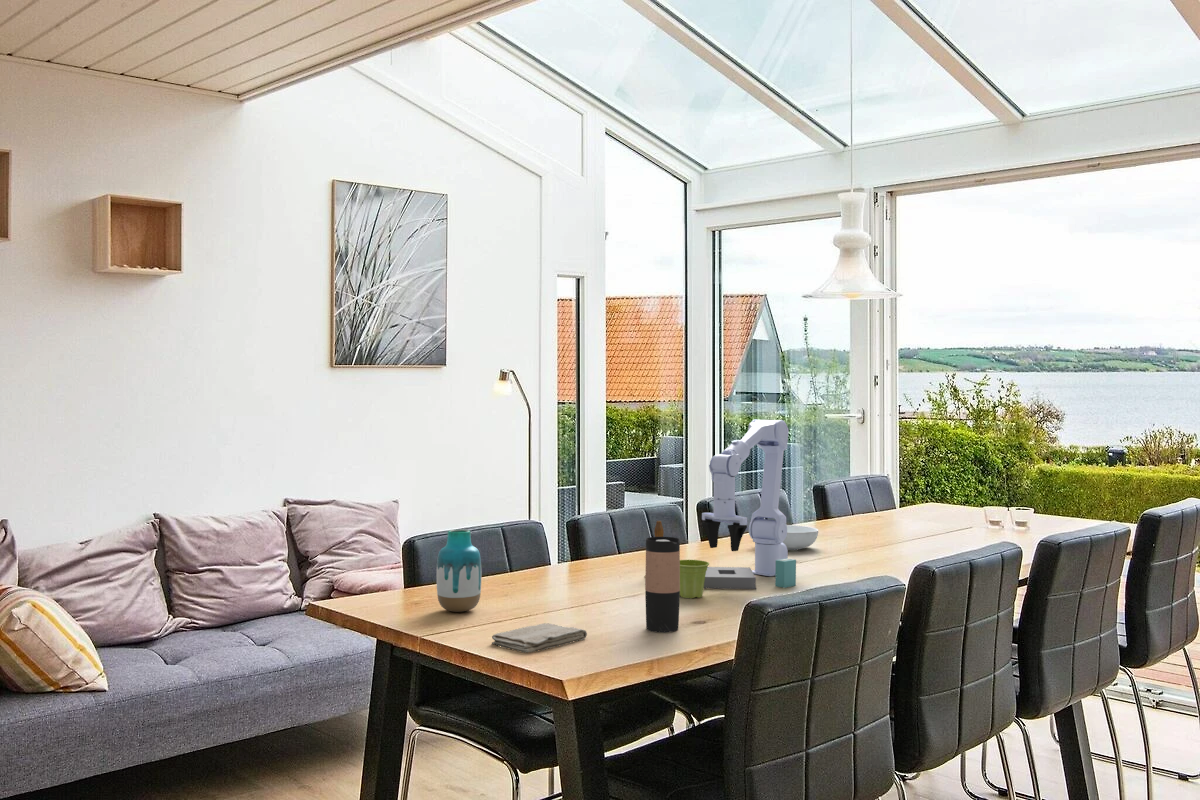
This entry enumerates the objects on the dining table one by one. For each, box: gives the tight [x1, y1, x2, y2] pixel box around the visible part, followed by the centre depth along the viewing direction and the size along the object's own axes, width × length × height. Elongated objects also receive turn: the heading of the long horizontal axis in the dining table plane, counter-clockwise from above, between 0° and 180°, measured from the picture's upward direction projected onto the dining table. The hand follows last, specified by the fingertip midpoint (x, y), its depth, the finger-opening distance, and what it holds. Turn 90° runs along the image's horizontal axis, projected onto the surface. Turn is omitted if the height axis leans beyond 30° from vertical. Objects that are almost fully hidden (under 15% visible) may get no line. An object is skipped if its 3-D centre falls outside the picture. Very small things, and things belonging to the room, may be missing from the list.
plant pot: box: [680, 559, 710, 599], centre depth 279 cm, size 9×9×9 cm
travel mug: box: [644, 536, 681, 633], centre depth 242 cm, size 8×8×20 cm
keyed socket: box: [703, 566, 757, 590], centre depth 298 cm, size 16×14×3 cm
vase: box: [436, 529, 482, 613], centre depth 259 cm, size 11×11×19 cm
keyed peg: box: [774, 558, 797, 589], centre depth 294 cm, size 5×3×7 cm, turn 132°
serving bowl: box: [783, 524, 819, 551], centre depth 360 cm, size 21×21×7 cm
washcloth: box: [491, 622, 588, 654], centre depth 230 cm, size 12×18×3 cm, turn 139°
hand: (724, 549), depth 294 cm, fingers open, 7 cm apart
